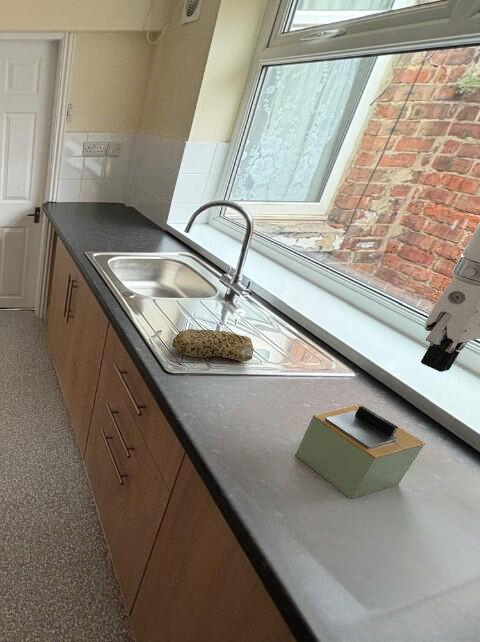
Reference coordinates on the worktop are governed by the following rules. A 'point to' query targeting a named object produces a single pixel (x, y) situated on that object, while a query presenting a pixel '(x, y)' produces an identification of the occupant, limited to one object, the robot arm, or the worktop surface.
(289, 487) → the worktop surface
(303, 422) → the worktop surface
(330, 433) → the green open box
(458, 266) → the robot arm
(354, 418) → the slider
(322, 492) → the worktop surface
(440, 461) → the worktop surface
